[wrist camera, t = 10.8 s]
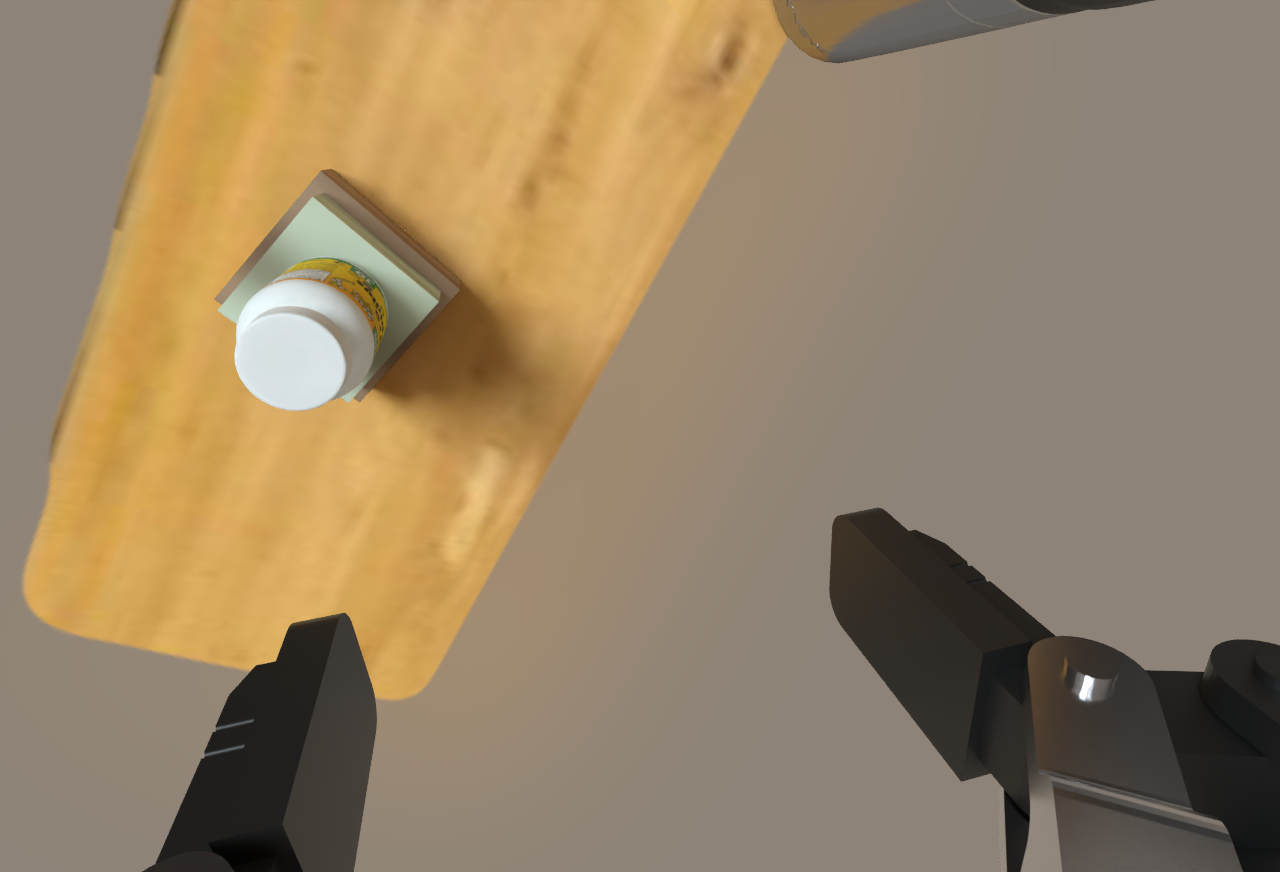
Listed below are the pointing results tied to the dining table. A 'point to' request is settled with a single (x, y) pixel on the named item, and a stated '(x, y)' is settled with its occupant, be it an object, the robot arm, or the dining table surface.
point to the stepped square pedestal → (365, 237)
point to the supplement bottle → (310, 334)
